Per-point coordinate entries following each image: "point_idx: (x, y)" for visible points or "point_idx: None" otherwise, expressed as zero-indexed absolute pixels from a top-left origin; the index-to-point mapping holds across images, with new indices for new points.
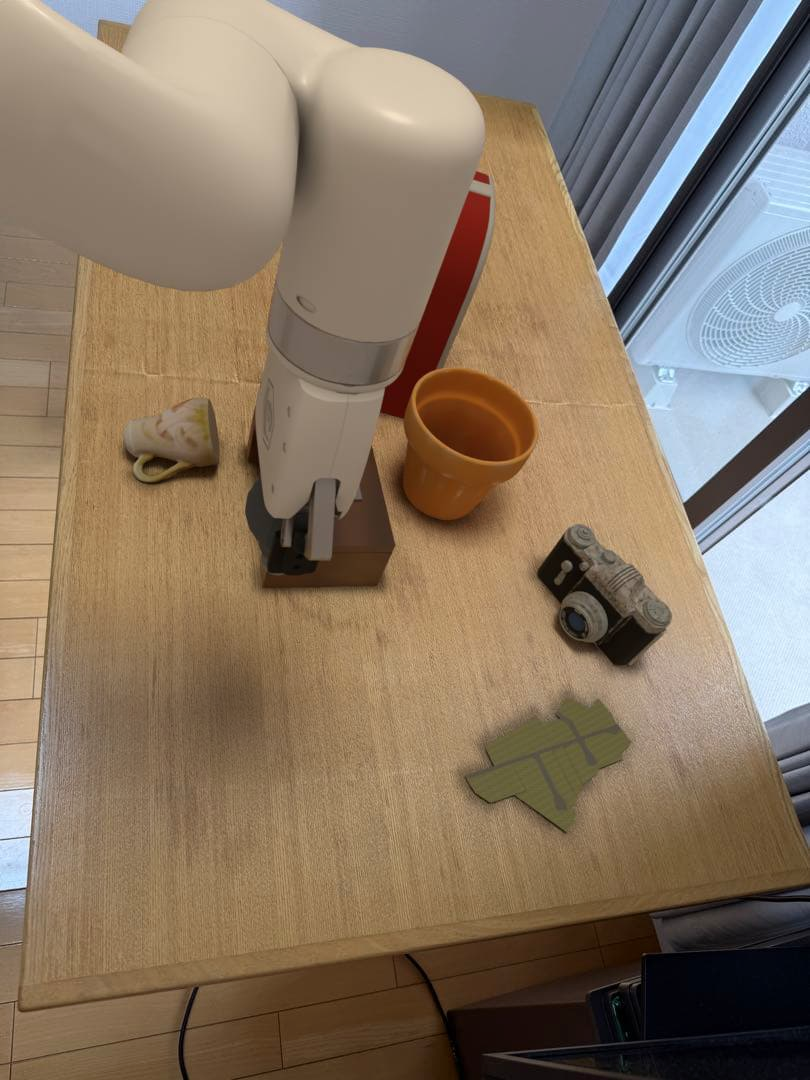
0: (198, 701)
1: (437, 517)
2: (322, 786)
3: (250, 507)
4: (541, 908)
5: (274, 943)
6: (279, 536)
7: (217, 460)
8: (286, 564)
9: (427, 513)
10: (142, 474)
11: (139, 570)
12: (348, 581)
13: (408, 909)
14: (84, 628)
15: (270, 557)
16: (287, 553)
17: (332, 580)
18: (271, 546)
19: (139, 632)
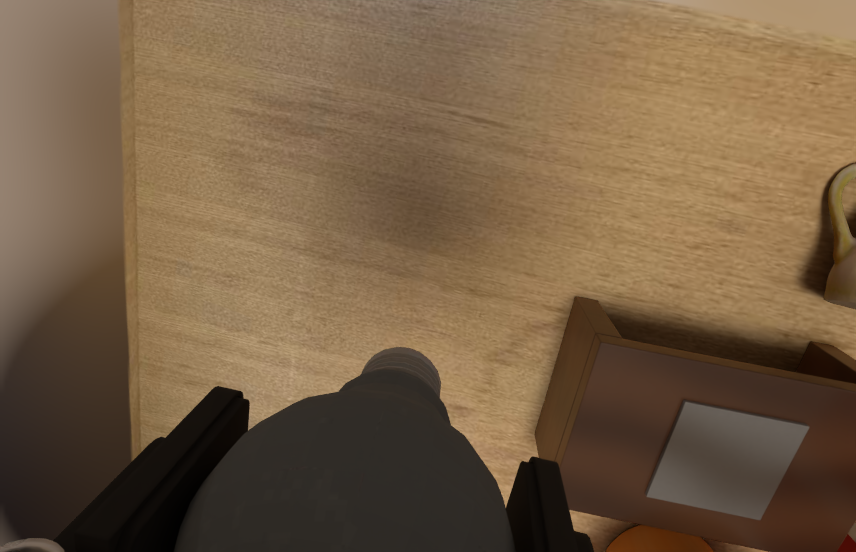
0: (429, 169)
1: (612, 544)
2: (292, 282)
3: (328, 459)
4: (140, 437)
5: (140, 181)
6: (83, 544)
7: (830, 301)
8: (124, 472)
9: (622, 536)
10: (853, 175)
11: (661, 133)
12: (546, 405)
13: (155, 321)
14: (584, 32)
15: (176, 429)
16: (90, 514)
17: (552, 388)
18: (180, 458)
19: (554, 112)
